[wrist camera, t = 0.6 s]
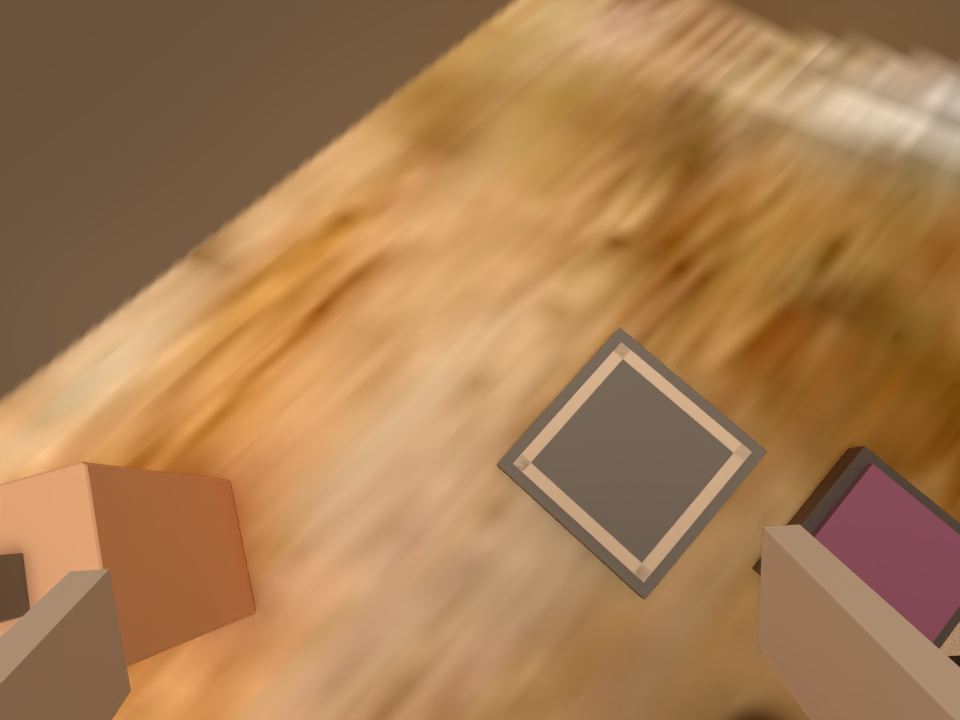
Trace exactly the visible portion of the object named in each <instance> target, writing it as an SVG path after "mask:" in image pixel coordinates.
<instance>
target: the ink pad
mask: <svg viewBox="0 0 960 720" xmlns="http://www.w3.org/2000/svg"><path fill="white" fill-rule="evenodd" d="M799 524H800V525H801V526H802V527H803V528H804V529H805V530H806V531H807V532H809V533H810V534H811V535H812V536H813V537H814V538H815V539H816V540H818V541H819V542H820V543H821V544H822V545H823V546H824V547H825V548H827V549H828V550H829V551H830V552H831V553H832V554H833V555H834V556H836V557H837V558H838V559H839V560H840V561H841V562H842V563H843V564H844V565H846V566H847V567H848V568H849V569H850V570H851V571H852V572H853V573H855V574H856V575H857V576H858V577H859V578H860V579H861V580H862V581H864V582H865V583H866V584H867V585H868V586H869V587H870V588H871V589H872V590H874V591H875V592H876V593H877V594H878V595H879V596H880V597H881V598H883V599H884V600H885V601H886V602H887V603H888V604H889V605H890V606H892V607H893V608H894V609H895V610H896V611H897V612H898V613H899V614H901V615H902V616H903V617H904V618H905V619H906V620H907V621H908V622H909V623H911V624H912V625H913V626H914V627H915V628H916V629H917V630H918V631H920V632H921V633H922V634H923V635H924V636H925V637H926V638H927V639H929V640H930V641H931V642H932V643H933V644H934V645H935V646H936V647H937V648H939V649H940V647H941V646H942V644H943V643H944V642H945V640H946V639H947V638H948V636H949V635H950V634H951V632H952V631H953V630H954V628H955V627H956V625H957V624H958V623H959V621H960V523H959V522H957V521H956V520H955V519H954V518H952V517H951V516H950V515H949V514H947V513H946V512H945V511H944V510H943V509H941V508H940V507H939V506H938V505H936V504H935V503H934V502H933V501H932V500H930V499H929V498H928V497H927V496H925V495H924V494H923V493H922V492H920V491H919V490H918V489H917V488H916V487H914V486H913V485H912V484H911V483H909V482H908V481H907V480H906V479H904V478H903V477H902V476H901V475H900V474H898V473H897V472H896V471H895V470H893V469H892V468H891V467H890V466H889V465H887V464H886V463H885V462H884V461H882V460H881V459H880V458H879V457H877V456H876V455H875V454H874V453H873V452H871V451H870V450H869V449H868V448H866V447H865V446H861V447H856V448H850V449H848V450H847V451H846V452H845V454H844V455H843V456H842V457H841V459H840V460H839V461H838V462H837V464H836V465H835V466H834V467H833V469H832V470H831V471H830V472H829V474H828V475H827V476H826V477H825V479H824V480H823V481H822V482H821V483H820V485H819V486H818V487H817V488H816V490H815V491H814V492H813V493H812V495H811V496H810V497H809V498H808V500H807V501H806V502H805V503H804V505H803V506H802V507H801V508H800V510H799V511H798V512H797V513H796V515H795V516H794V517H793V518H792V520H791V521H790V522H789V523H788V525H799ZM753 569H754V570H755V571H756V572H757V573H758V574H760V575H761V558H760V560H759V561H758V562H757V563H756V565H755V566H754V567H753Z"/></svg>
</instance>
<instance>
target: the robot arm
mask: <svg viewBox="0 0 960 720" xmlns="http://www.w3.org/2000/svg"><path fill="white" fill-rule="evenodd" d="M758 648H759V650H760V651H761V652H762V654H763V655H764V657H765V658H766V659H767V661H768V662H769V664H770V665H771V666H772V668H773V669H774V671H775V672H776V674H777V675H778V676H779V678H780V679H781V681H782V682H783V683H784V685H785V686H786V688H787V689H788V690H789V692H790V693H791V695H792V696H793V697H794V699H795V700H796V702H797V703H798V705H799V706H800V707H801V709H802V710H803V712H804V713H805V714H806V716H807V717H808V719H809V720H960V656H946V655H945V654H944V653H943V652H942V651H941V650H940V649H939V648H937V647H936V646H935V645H934V644H933V643H932V642H931V641H930V640H929V639H927V638H926V637H925V636H924V635H923V634H922V633H921V632H920V631H918V630H917V629H916V628H915V627H914V626H913V625H912V624H911V623H909V622H908V621H907V620H906V619H905V618H904V617H903V616H902V615H901V614H899V613H898V612H897V611H896V610H895V609H894V608H893V607H892V606H890V605H889V604H888V603H887V602H886V601H885V600H884V599H883V598H881V597H880V596H879V595H878V594H877V593H876V592H875V591H874V590H872V589H871V588H870V587H869V586H868V585H867V584H866V583H865V582H864V581H862V580H861V579H860V578H859V577H858V576H857V575H856V574H855V573H853V572H852V571H851V570H850V569H849V568H848V567H847V566H846V565H844V564H843V563H842V562H841V561H840V560H839V559H838V558H837V557H836V556H834V555H833V554H832V553H831V552H830V551H829V550H828V549H827V548H825V547H824V546H823V545H822V544H821V543H820V542H819V541H818V540H816V539H815V538H814V537H813V536H812V535H811V534H810V533H809V532H807V531H806V530H805V529H804V528H803V527H802V526H801V525H800V524H799V525H784V526H768V527H763V533H762V556H761V579H760V601H759V624H758ZM130 691H131V689H130V683H129V677H128V672H127V666H126V661H125V655H124V649H123V644H122V638H121V632H120V627H119V621H118V615H117V610H116V604H115V598H114V593H113V587H112V582H111V576H110V570H109V569H101V570H85V571H70V572H69V573H68V574H67V575H66V576H65V577H64V578H62V579H61V580H60V581H59V582H58V583H57V584H56V585H55V586H54V587H53V588H52V589H51V590H50V591H49V592H48V593H47V594H46V595H45V596H44V597H42V598H41V599H40V600H39V601H38V602H37V603H36V604H35V605H34V606H33V607H32V608H31V609H30V610H29V611H28V612H27V613H26V614H25V615H24V616H23V617H21V618H20V619H19V620H18V621H17V622H16V623H15V624H14V625H13V626H12V627H11V628H10V629H9V630H8V631H7V632H6V633H5V634H4V635H3V636H1V637H0V720H112V719H113V717H114V716H115V714H116V713H117V711H118V709H119V708H120V706H121V705H122V703H123V702H124V700H125V699H126V697H127V696H128V694H129V693H130Z"/></svg>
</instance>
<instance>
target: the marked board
mask: <svg viewBox="0 0 960 720" xmlns="http://www.w3.org/2000/svg"><path fill="white" fill-rule="evenodd" d="M766 452H767V451H766V450H765V449H764V448H763V447H761V446H760V445H759V444H758V443H757V442H755V441H754V440H753V439H752V438H751V437H749V436H748V435H747V434H746V433H745V432H743V431H742V430H741V429H740V428H739V427H737V426H736V425H735V424H734V423H733V422H732V421H730V420H729V419H728V418H727V417H726V416H724V415H723V414H722V413H721V412H720V411H718V410H717V409H716V408H715V407H714V406H712V405H711V404H710V403H709V402H708V401H707V400H705V399H704V398H703V397H702V396H701V395H699V394H698V393H697V392H696V391H695V390H693V389H692V388H691V387H690V386H689V385H687V384H686V383H685V382H684V381H683V380H681V379H680V378H679V377H678V376H677V375H676V374H674V373H673V372H672V371H671V370H670V369H668V368H667V367H666V366H665V365H664V364H662V363H661V362H660V361H659V360H658V359H656V358H655V357H654V356H653V355H652V354H650V353H649V352H648V351H647V350H646V349H645V348H643V347H642V346H641V345H640V344H639V343H637V342H636V341H635V340H634V339H633V338H631V337H630V336H629V335H628V334H627V333H625V332H624V331H623V330H622V329H621V328H619V329H618V330H617V331H616V332H615V334H614V335H613V336H612V337H611V338H610V339H609V340H608V341H607V342H606V344H605V345H604V346H603V347H602V348H601V349H600V350H599V351H598V352H597V354H596V355H595V356H594V357H593V358H592V359H591V360H590V361H589V363H588V364H587V365H586V366H585V367H584V368H583V369H582V370H581V371H580V373H579V374H578V375H577V376H576V377H575V378H574V379H573V380H572V381H571V383H570V384H569V385H568V386H567V387H566V388H565V389H564V390H563V391H562V393H561V394H560V395H559V396H558V397H557V398H556V399H555V400H554V401H553V403H552V404H551V405H550V406H549V407H548V408H547V409H546V410H545V411H544V413H543V414H542V415H541V416H540V417H539V418H538V419H537V420H536V422H535V423H534V424H533V425H532V426H531V427H530V428H529V429H528V430H527V432H526V433H525V434H524V435H523V436H522V437H521V438H520V439H519V440H518V442H517V443H516V444H515V445H514V446H513V447H512V448H511V449H510V450H509V452H508V453H507V454H506V455H505V456H504V457H503V458H502V459H501V460H500V462H499V463H498V464H497V466H498V467H499V468H500V469H501V470H502V471H504V472H505V473H506V474H507V475H508V476H509V477H510V478H511V479H512V480H513V481H514V482H516V483H517V484H518V485H519V486H520V487H521V488H522V489H523V490H524V491H525V492H526V493H528V494H529V495H530V496H531V497H532V498H533V499H534V500H535V501H536V502H537V503H538V504H540V505H541V506H542V507H543V508H544V509H545V510H546V511H547V512H548V513H549V514H550V515H552V516H553V517H554V518H555V519H556V520H557V521H558V522H559V523H560V524H561V525H563V526H564V527H565V528H566V529H567V530H568V531H569V532H570V533H571V534H572V535H573V536H575V537H576V538H577V539H578V540H579V541H580V542H581V543H582V544H583V545H584V546H585V547H587V548H588V549H589V550H590V551H591V552H592V553H593V554H594V555H595V556H596V557H597V558H599V559H600V560H601V561H602V562H603V563H604V564H605V565H606V566H607V567H608V568H609V569H611V570H612V571H613V572H614V573H615V574H616V575H617V576H618V577H619V578H620V579H622V580H623V581H624V582H625V583H626V584H627V585H628V586H629V587H630V588H631V589H632V590H634V591H635V592H636V593H637V594H638V595H639V596H640V597H641V598H643V599H646V598H647V597H648V595H649V594H650V593H651V592H652V591H653V589H654V588H655V587H656V586H657V585H658V583H659V582H660V581H661V580H662V578H663V577H664V576H665V575H666V574H667V572H668V571H669V570H670V569H671V568H672V566H673V565H674V564H675V563H676V561H677V560H678V559H679V558H680V557H681V555H682V554H683V553H684V552H685V551H686V549H687V548H688V547H689V546H690V545H691V543H692V542H693V541H694V540H695V538H696V537H697V536H698V535H699V534H700V532H701V531H702V530H703V529H704V528H705V526H706V525H707V524H708V523H709V521H710V520H711V519H712V518H713V517H714V515H715V514H716V513H717V512H718V511H719V509H720V508H721V507H722V506H723V504H724V503H725V502H726V501H727V500H728V498H729V497H730V496H731V495H732V494H733V492H734V491H735V490H736V489H737V488H738V486H739V485H740V484H741V483H742V481H743V480H744V479H745V478H746V477H747V475H748V474H749V473H750V472H751V471H752V469H753V468H754V467H755V466H756V464H757V463H758V462H759V461H760V460H761V458H762V457H763V456H764V455H765V454H766Z"/></svg>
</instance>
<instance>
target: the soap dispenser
mask: <svg viewBox="0 0 960 720" xmlns="http://www.w3.org/2000/svg"><path fill="white" fill-rule="evenodd" d="M101 569H109V570H110V576H111V582H112V587H113V593H114V598H115V604H116V610H117V615H118V621H119V627H120V632H121V638H122V644H123V649H124V655H125V661H126V666H130V665H132V664H134V663H137V662H139V661H142V660H144V659H146V658H149V657H151V656H154V655H156V654H158V653H161V652H163V651H166V650H168V649H170V648H173V647H175V646H178V645H180V644H182V643H185V642H187V641H190V640H192V639H194V638H197V637H199V636H202V635H204V634H206V633H209V632H211V631H214V630H216V629H218V628H221V627H223V626H226V625H228V624H230V623H233V622H235V621H238V620H240V619H242V618H245V617H247V616H250V615H252V614H253V613H254V612H255V606H254V601H253V596H252V591H251V586H250V581H249V575H248V570H247V565H246V560H245V555H244V550H243V545H242V540H241V535H240V530H239V524H238V519H237V514H236V509H235V504H234V499H233V494H232V489H231V484H230V481H228V480H224V479H216V478H208V477H200V476H192V475H184V474H176V473H168V472H160V471H152V470H144V469H136V468H128V467H120V466H112V465H103V464H95V463H87V462H79V463H76V464H72V465H69V466H65V467H61V468H58V469H54V470H51V471H47V472H43V473H40V474H36V475H33V476H29V477H25V478H22V479H18V480H15V481H11V482H7V483H4V484H0V637H1V636H3V635H4V634H5V633H6V632H7V631H8V630H9V629H10V628H11V627H12V626H13V625H14V624H15V623H16V622H17V621H18V620H19V619H20V618H21V617H23V616H24V615H25V614H26V613H27V612H28V611H29V610H30V609H31V608H32V607H33V606H34V605H35V604H36V603H37V602H38V601H39V600H40V599H41V598H42V597H44V596H45V595H46V594H47V593H48V592H49V591H50V590H51V589H52V588H53V587H54V586H55V585H56V584H57V583H58V582H59V581H60V580H61V579H62V578H64V577H65V576H66V575H67V574H68V573H69V572H70V571H85V570H101Z"/></svg>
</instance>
